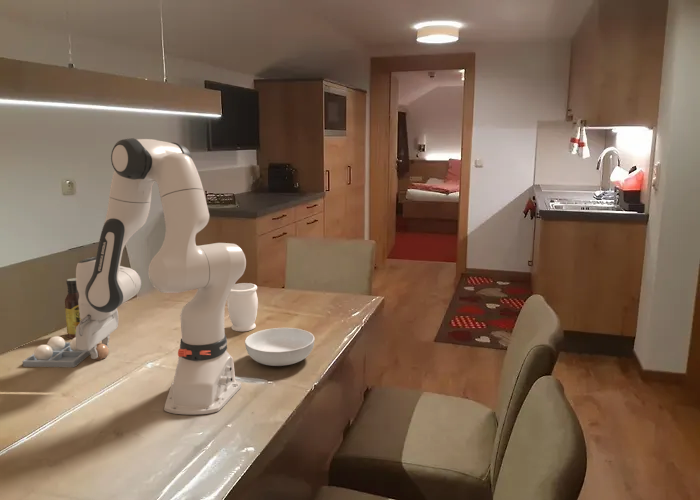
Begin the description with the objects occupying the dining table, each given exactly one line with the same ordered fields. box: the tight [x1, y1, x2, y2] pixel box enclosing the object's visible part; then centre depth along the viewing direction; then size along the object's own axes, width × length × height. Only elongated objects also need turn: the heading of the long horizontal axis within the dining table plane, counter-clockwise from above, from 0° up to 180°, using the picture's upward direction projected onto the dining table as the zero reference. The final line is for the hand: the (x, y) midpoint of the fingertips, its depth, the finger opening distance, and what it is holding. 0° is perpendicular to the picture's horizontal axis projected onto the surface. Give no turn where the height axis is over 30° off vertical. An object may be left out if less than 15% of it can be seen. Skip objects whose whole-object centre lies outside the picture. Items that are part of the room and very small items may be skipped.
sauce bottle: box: [64, 277, 81, 339], centre depth 190 cm, size 7×6×20 cm
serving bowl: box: [244, 327, 316, 367], centre depth 172 cm, size 21×21×7 cm
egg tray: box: [22, 341, 91, 368], centre depth 173 cm, size 15×15×2 cm
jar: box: [226, 282, 259, 332], centre depth 198 cm, size 11×10×15 cm
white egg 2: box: [46, 335, 66, 351], centre depth 177 cm, size 5×5×5 cm
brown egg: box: [95, 342, 110, 361], centre depth 172 cm, size 5×5×5 cm
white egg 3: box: [70, 337, 78, 351], centre depth 176 cm, size 5×5×5 cm
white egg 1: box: [33, 344, 53, 360], centre depth 170 cm, size 5×5×5 cm
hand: (100, 353), depth 172 cm, fingers closed on brown egg, 5 cm apart
